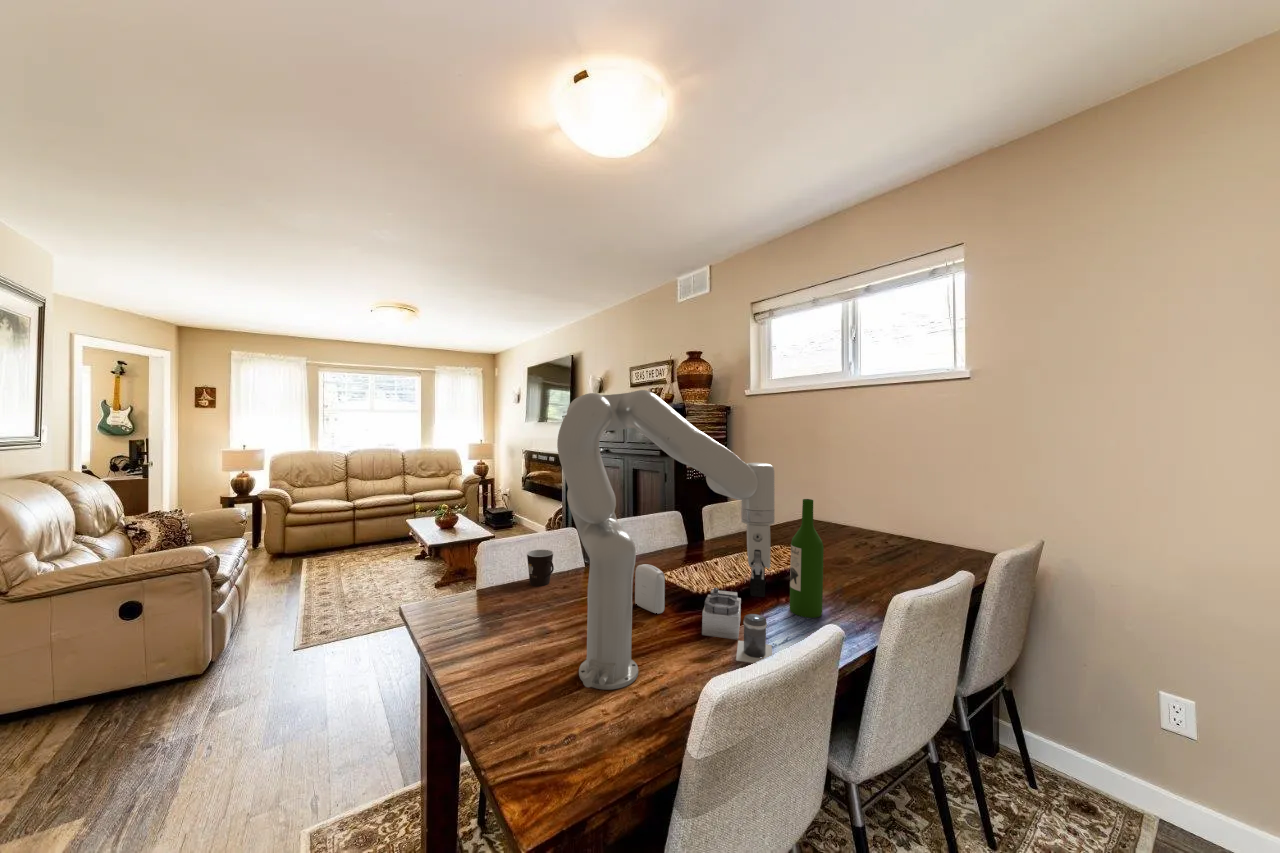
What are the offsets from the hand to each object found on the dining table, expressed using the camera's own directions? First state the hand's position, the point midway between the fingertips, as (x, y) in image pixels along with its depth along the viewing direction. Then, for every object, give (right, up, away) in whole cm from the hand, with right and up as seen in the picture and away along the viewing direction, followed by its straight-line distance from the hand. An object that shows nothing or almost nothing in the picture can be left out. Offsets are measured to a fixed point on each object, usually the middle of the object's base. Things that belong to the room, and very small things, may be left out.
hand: (757, 588), depth 108 cm
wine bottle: (+20, -16, +25) cm, 36 cm away
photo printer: (-25, -15, +26) cm, 39 cm away
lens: (-1, -15, 0) cm, 15 cm away
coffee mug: (-61, -14, +44) cm, 76 cm away
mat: (-1, -15, 0) cm, 15 cm away
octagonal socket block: (-6, -15, +14) cm, 21 cm away
